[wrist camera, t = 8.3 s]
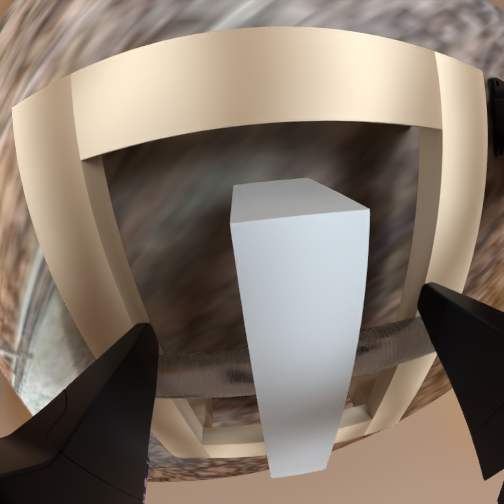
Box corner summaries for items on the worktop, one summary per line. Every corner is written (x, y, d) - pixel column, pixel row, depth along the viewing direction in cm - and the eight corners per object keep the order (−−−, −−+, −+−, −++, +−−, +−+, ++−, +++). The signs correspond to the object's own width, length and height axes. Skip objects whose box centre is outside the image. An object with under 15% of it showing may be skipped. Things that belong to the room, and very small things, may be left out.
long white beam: (308, 177, 10) (369, 209, 5) (308, 400, 16) (325, 469, 11) (233, 185, 10) (229, 223, 5) (263, 407, 16) (271, 478, 11)
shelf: (408, 78, 11) (482, 71, 6) (373, 374, 22) (396, 424, 16) (85, 106, 11) (11, 108, 5) (181, 400, 21) (175, 456, 16)
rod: (433, 302, 11) (455, 327, 9) (423, 332, 12) (441, 357, 10) (120, 345, 11) (107, 378, 9) (136, 373, 12) (127, 404, 10)
